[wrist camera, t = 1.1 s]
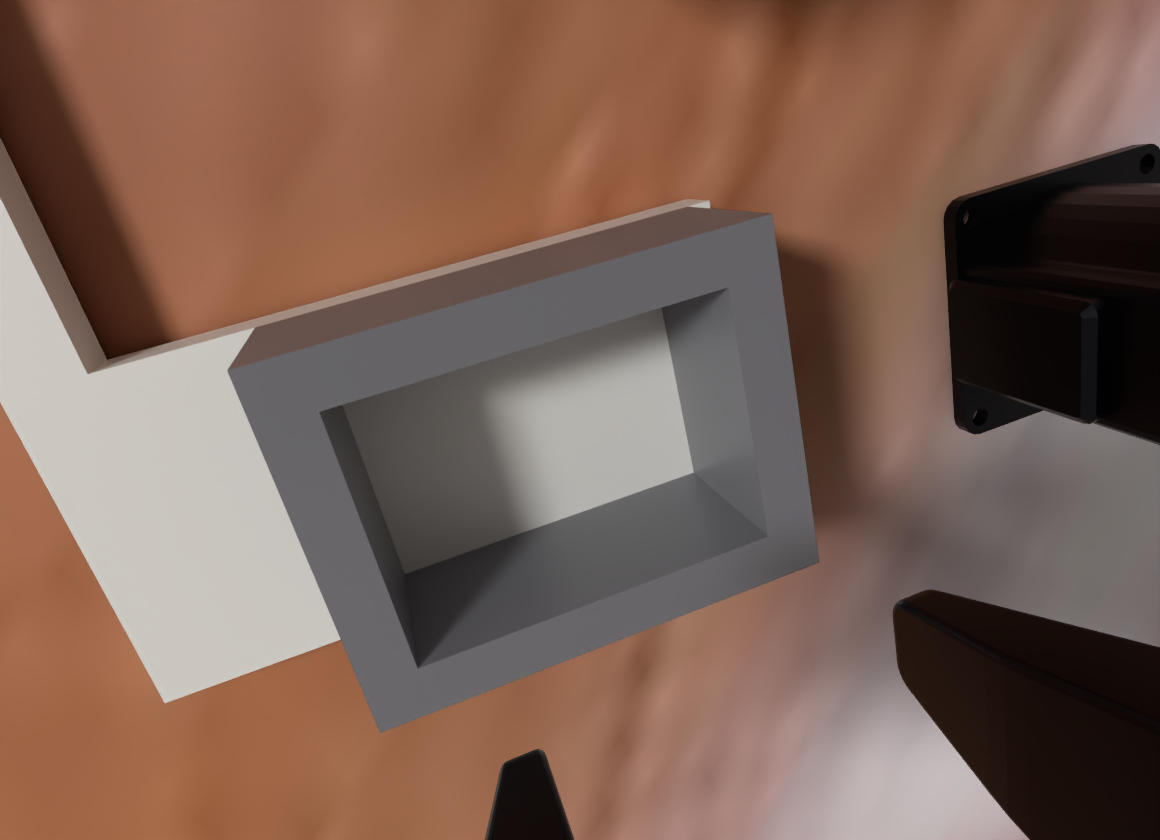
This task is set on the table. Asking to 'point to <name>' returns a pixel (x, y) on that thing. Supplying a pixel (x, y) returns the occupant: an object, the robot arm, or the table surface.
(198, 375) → the grey open storage bin
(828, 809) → the table surface
